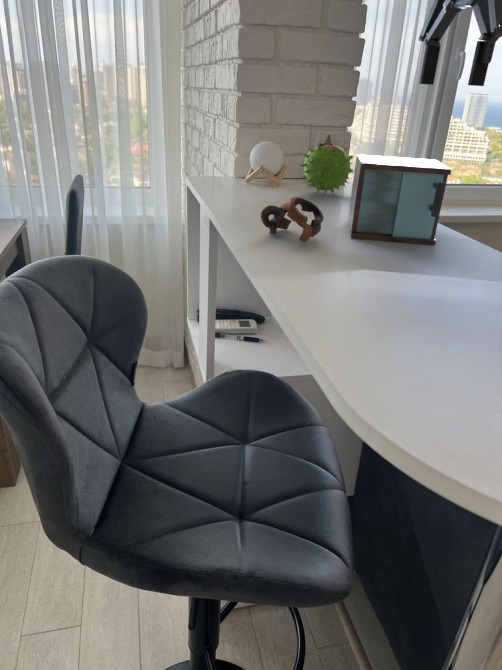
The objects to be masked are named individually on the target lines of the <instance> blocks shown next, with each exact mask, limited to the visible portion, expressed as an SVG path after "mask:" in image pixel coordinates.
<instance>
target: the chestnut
mask: <svg viewBox="0 0 502 670" xmlns="http://www.w3.org/2000/svg"><path fill="white" fill-rule="evenodd" d="M336 145H337V144H336V143H335V144H334V145H331V144H327V145H319V144H317V146H316V147H313V148H310V147H308V149H309V151H308V152H307V154H306V153H303V156H305V158H304V161H303V163H301V164H299V166H300V167H303V172H302V174H301V176H300V179H302V178H305V179H306V180H307V182H306V184H307V185H306V187H309V188H311V189H313V188H315V189H316V195H318V193H319V192H320V191H323V192H324V195H326V193H328V192H327V191H330V192H331V193H332V194H335V189H337V190H338V191H340V186H343V187H344V188H347V186H346V185H345V183H346V184H349V182H348V181H350V177H349V175H350V173H351V174H352V173H354V172H355V169H353V168H351V165H353V164H354V163H353V162H351V160H352V159H354V157H355V155H349V152H348V151H347V150H348V147H346V148H345V147H344V146H339V145H337V146H336ZM347 180H348V181H347Z"/></svg>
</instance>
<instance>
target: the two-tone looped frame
mask: <svg viewBox="0 0 502 670" xmlns="http://www.w3.org/2000/svg"><path fill="white" fill-rule="evenodd" d="M299 205H300V207H301V210H299V209H298V208H297V206H299ZM301 211H302V212H307V213H312V214H313V218H314V219H312V220H311V222H310V224H309V223H308V220H309V218H308V216H306V215H304V214H303V213H302V212H301ZM271 215H272V218H271V219H270V216H271ZM285 216H287V217H288V218H286V217H285ZM260 220H261V223H262V224H263V225H264V227H266V228H268V229H269V234H270V235H272V234H277V231H278V229H280V230H285V231H288V230H289V229H288V228H289V226H290V224H291V223H292V221H293V222H294V223H296V224H297V225H298V226H299V227H300V228H302V229H303V230H302V233H301V235H300V236H299V241H301V242H303V243H307V242H308V241H309V240H310V238H313V237H315V236H316V235H318V234H319V233H320V231H321V230H322V223H323V221H324V214H323V212H322V210H321V209H320V208H319V207H318V206H317V205H316V204H315V203H313V201H310V200H308V199H306V198H304V197H300V196H294V197H291V199H290V200H289V201H287V202H284V203H282V204H280V205H279V206H277V205H272V204H270V205H267V206H264V208H263V209H262V210H261V212H260Z"/></svg>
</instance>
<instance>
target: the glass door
mask: <svg viewBox="0 0 502 670" xmlns="http://www.w3.org/2000/svg"><path fill="white" fill-rule="evenodd" d="M443 178H444V175H443V174H429V173H415V172H403V178H402V184H401V189H400V195H399V200H398V206H397V212H396V217H395V223H394V229H393V234H392V236H397V237H409V238H421V239H431V235H432V230H433V225H434V221H435V217H437V216H438V211H439V206H440V202H441V197H442V192H443V188H444V183H443Z"/></svg>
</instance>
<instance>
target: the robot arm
mask: <svg viewBox="0 0 502 670" xmlns="http://www.w3.org/2000/svg"><path fill="white" fill-rule="evenodd" d="M468 8H472V12H473V14H474V18H475V21H476V25H477V27H478V30H479V35H480V36H479V37H478V40H477V41H476V45H475V50H474V55H473V59H472V62H471V63H472V64H471V67H470V68H471V69H470V73H469V79H468V82H467V86H474V87H484V86H485V81H486V77H487V73H488V70H489V69H488V68H489V64H491V62H492V60H493V55H494V52H495V51H494V50H495V46H496V42H497V41H498V40H499V39H500V38H502V0H433V2H432V4H431V7H430V8H429V9H430V10H429V12H428V14H427V16H426V19H425V21H424V23H423V26H422V27H421V31H420V33H419V35H418V42H421V43H423V45H424V49H423V56H422V62H421V63H422V66H421V72H420V76H419V77H420V78H419V85H429V86H431V85H434V84H435V83H434V82H435V78H436V72H437V68H438V62H439V58H440V57H439V56H440V52H441V43H440V42H441V39H442V38H443V36H444V35H445V34H446V32H447V30H448V28H449V27H450V25H451V24H452V22H453V21H454V19H455V18H456V16H457V14H459V13H461V12H462V10H464V9H468Z"/></svg>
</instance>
